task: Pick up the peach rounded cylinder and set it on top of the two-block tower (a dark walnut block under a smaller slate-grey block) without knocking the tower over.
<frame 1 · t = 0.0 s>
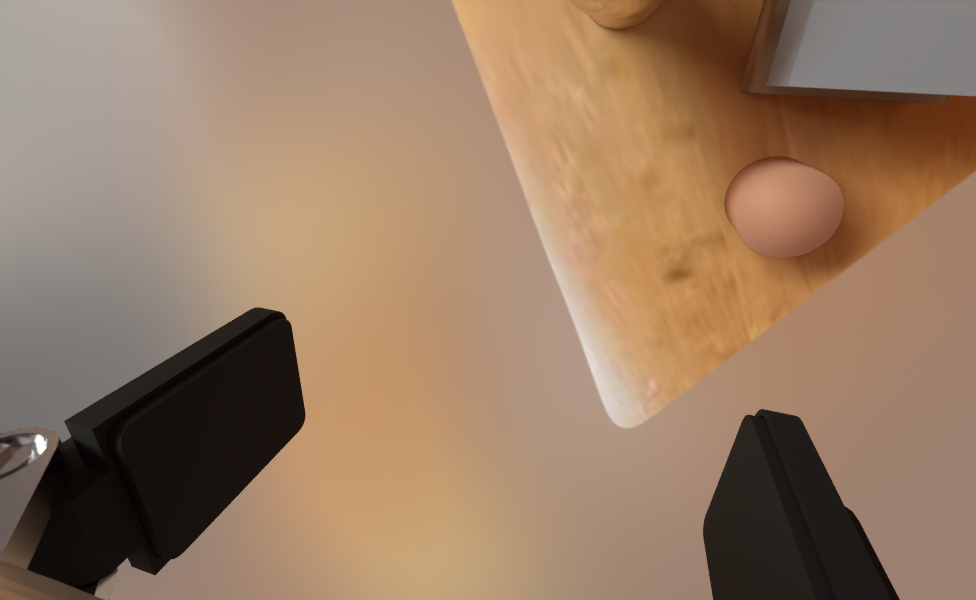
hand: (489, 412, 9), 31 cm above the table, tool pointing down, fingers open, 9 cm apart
walnut base block: (847, 9, 29), on the table, touching slate top block
peach rounded cylinder: (768, 198, 34), on the table
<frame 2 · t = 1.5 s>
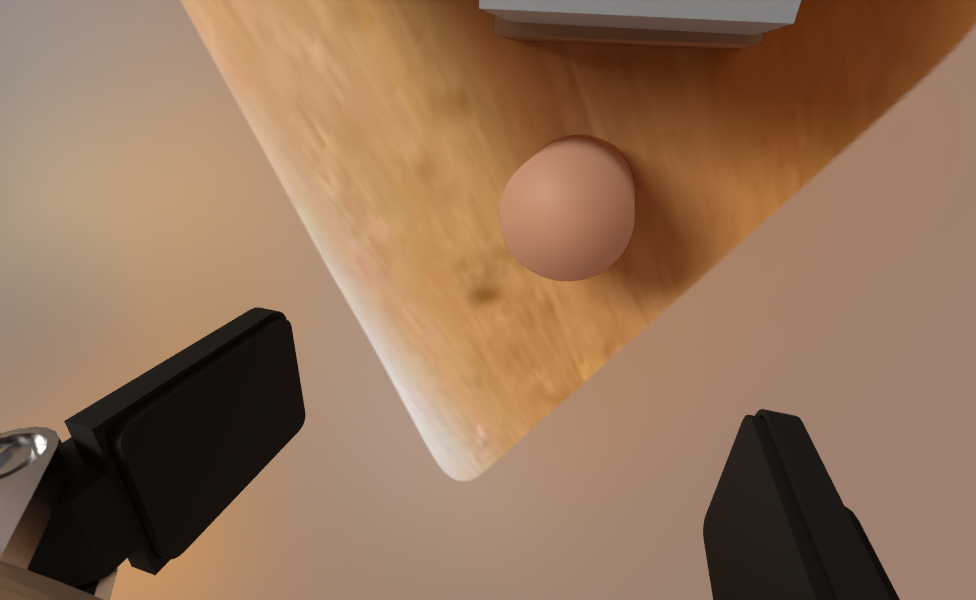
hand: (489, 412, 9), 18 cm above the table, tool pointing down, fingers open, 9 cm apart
peach rounded cylinder: (576, 193, 25), on the table
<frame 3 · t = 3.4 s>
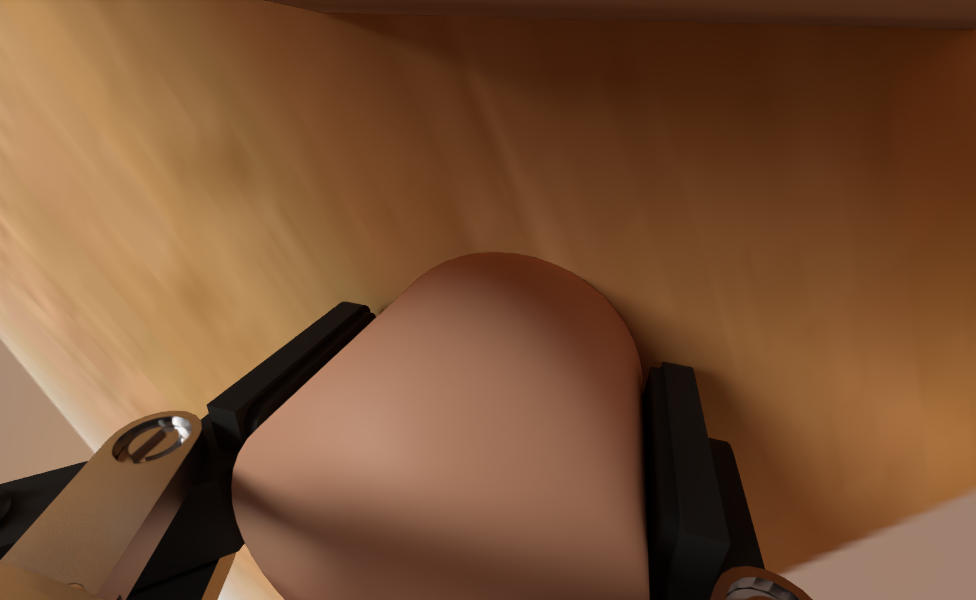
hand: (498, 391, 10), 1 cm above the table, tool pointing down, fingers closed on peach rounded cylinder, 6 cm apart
peach rounded cylinder: (505, 374, 11), on the table, touching gripper
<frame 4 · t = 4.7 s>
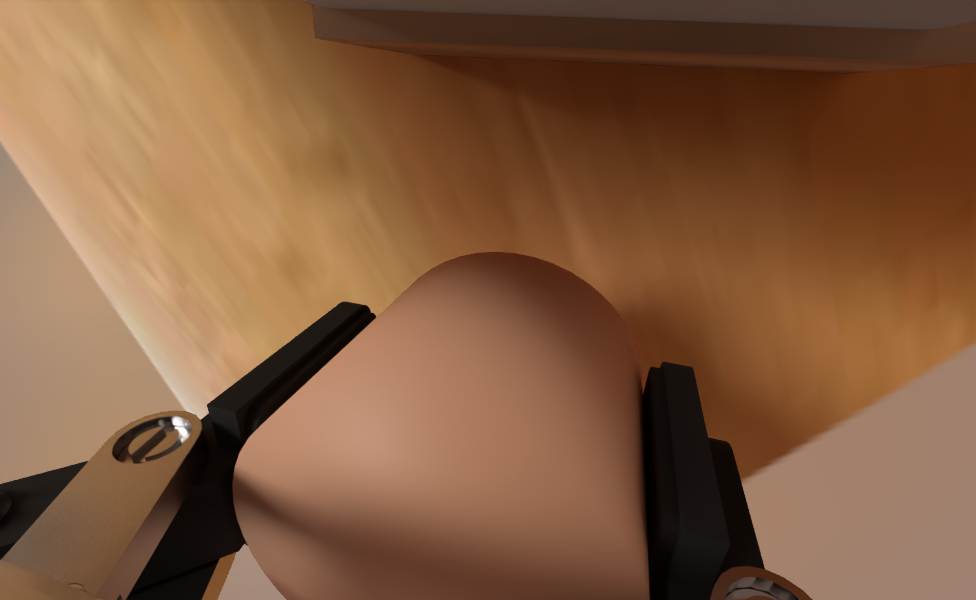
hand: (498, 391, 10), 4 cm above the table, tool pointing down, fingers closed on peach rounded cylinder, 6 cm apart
peach rounded cylinder: (506, 374, 11), point 4 cm above the table, touching gripper
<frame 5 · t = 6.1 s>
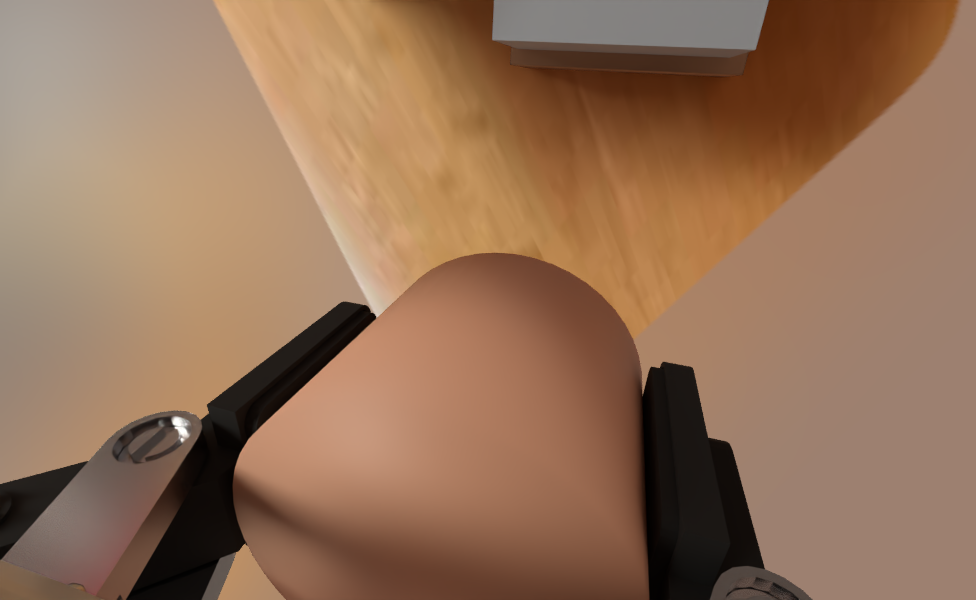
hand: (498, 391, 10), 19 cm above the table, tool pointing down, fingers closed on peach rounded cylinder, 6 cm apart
peach rounded cylinder: (506, 375, 11), point 19 cm above the table, touching gripper
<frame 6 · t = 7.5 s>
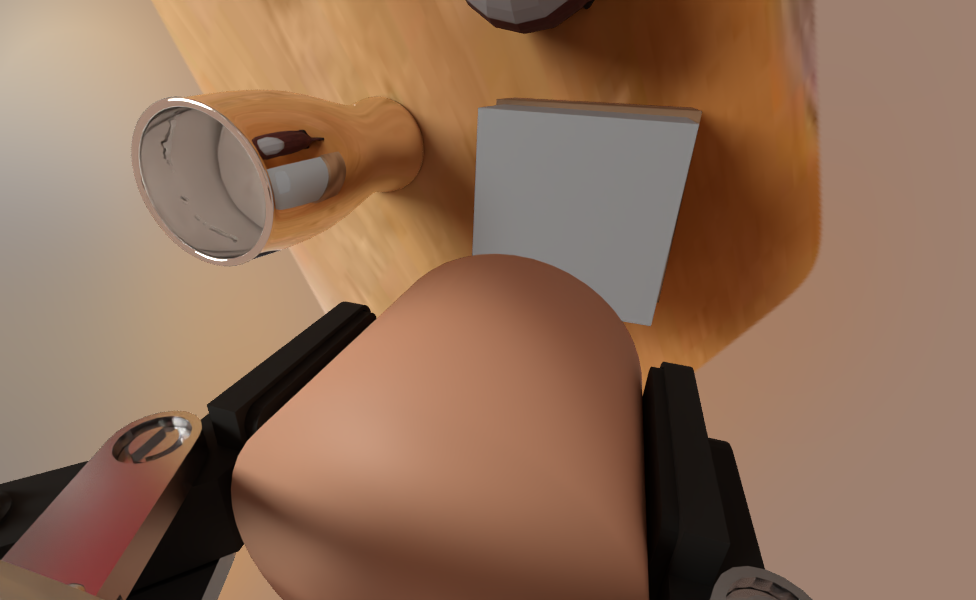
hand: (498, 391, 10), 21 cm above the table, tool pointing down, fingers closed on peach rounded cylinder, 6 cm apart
slate top block: (578, 200, 25), point 4 cm above the table
walnut base block: (588, 188, 29), on the table
peach rounded cylinder: (505, 376, 11), point 21 cm above the table, touching gripper
beer glass: (384, 145, 31), on the table
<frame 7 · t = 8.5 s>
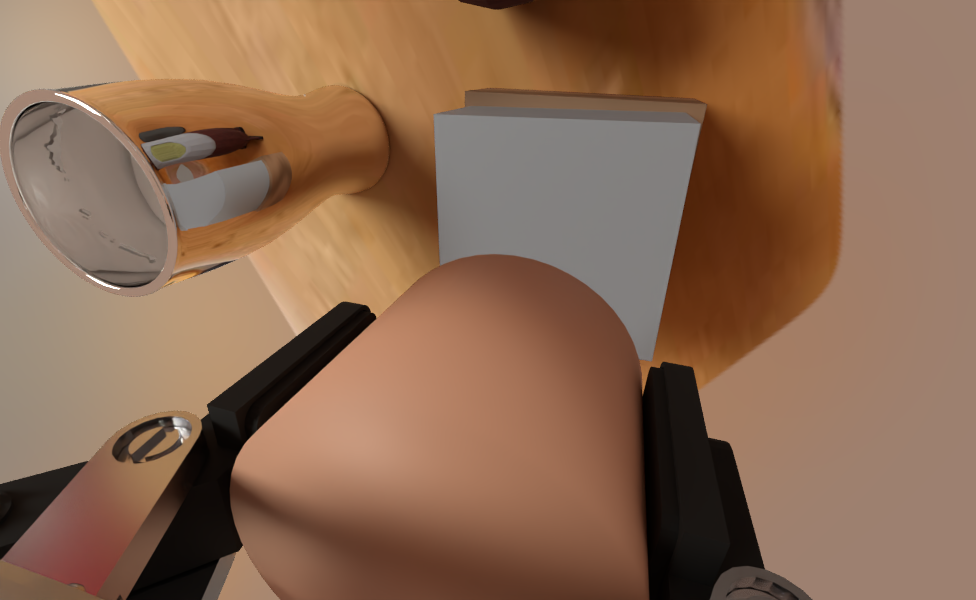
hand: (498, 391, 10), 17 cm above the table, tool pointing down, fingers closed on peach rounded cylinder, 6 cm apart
slate top block: (563, 213, 21), point 4 cm above the table, touching walnut base block
walnut base block: (575, 191, 25), on the table, touching slate top block
peach rounded cylinder: (505, 376, 11), point 17 cm above the table, touching gripper
beer glass: (345, 140, 27), on the table
when the fingers open (10 cm above the table, at t = 10.4 s): peach rounded cylinder stays where it is, point 9 cm above the table.
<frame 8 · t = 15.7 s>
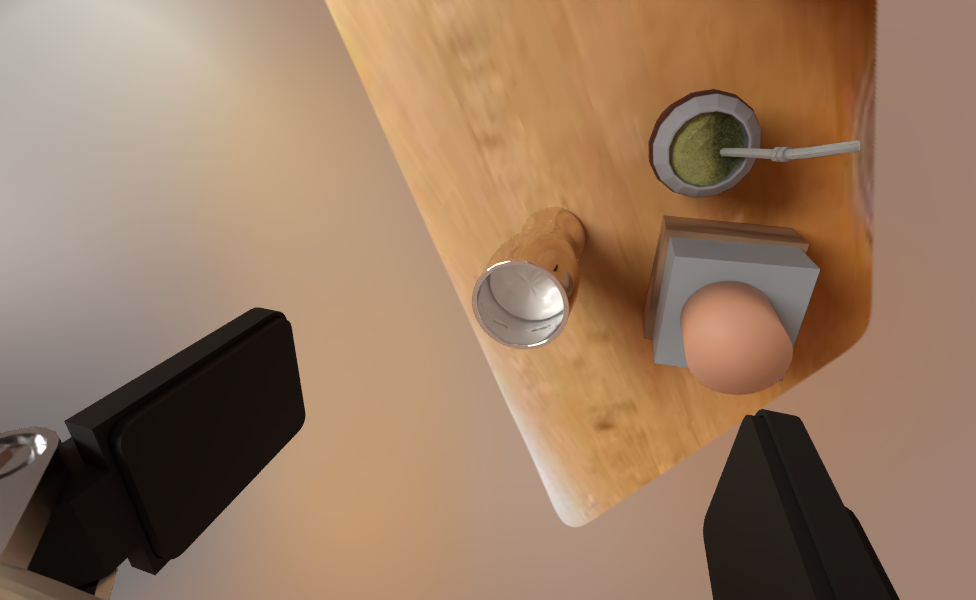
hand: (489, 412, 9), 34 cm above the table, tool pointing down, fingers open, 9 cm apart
mate gourd: (699, 134, 36), on the table
slate top block: (719, 294, 37), point 4 cm above the table, touching walnut base block
walnut base block: (710, 274, 41), on the table, touching slate top block
peach rounded cylinder: (724, 318, 33), point 9 cm above the table
beer glass: (553, 238, 43), on the table
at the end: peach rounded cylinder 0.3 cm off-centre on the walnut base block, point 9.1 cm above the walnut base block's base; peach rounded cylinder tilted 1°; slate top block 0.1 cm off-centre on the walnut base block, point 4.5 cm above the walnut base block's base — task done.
